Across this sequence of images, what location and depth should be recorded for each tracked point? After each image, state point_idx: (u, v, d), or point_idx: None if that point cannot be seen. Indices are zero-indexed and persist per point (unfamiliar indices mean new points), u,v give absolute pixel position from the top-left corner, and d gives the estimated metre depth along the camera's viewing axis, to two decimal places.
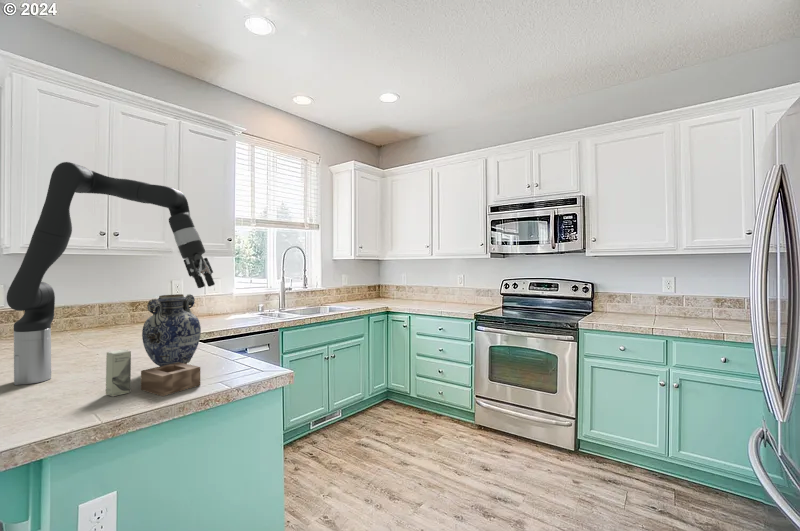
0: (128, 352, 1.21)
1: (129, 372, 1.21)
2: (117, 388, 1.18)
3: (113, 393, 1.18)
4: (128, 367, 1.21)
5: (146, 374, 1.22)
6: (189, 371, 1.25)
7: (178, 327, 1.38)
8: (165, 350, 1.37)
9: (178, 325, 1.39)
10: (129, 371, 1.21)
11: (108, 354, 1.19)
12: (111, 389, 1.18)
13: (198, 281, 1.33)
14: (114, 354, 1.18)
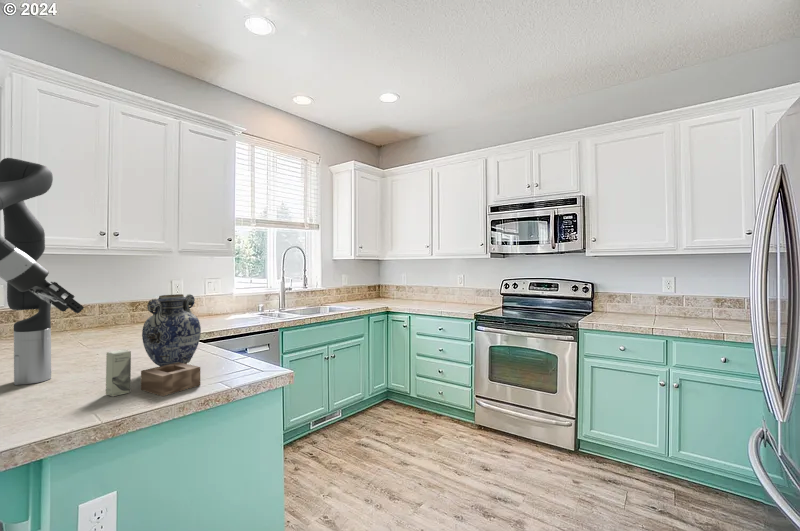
0: (128, 352, 1.21)
1: (129, 372, 1.21)
2: (117, 388, 1.18)
3: (113, 393, 1.18)
4: (128, 367, 1.21)
5: (146, 374, 1.22)
6: (189, 371, 1.25)
7: (178, 327, 1.38)
8: (165, 350, 1.37)
9: (178, 325, 1.39)
10: (129, 371, 1.21)
11: (108, 354, 1.19)
12: (111, 389, 1.18)
13: None
14: (114, 354, 1.18)
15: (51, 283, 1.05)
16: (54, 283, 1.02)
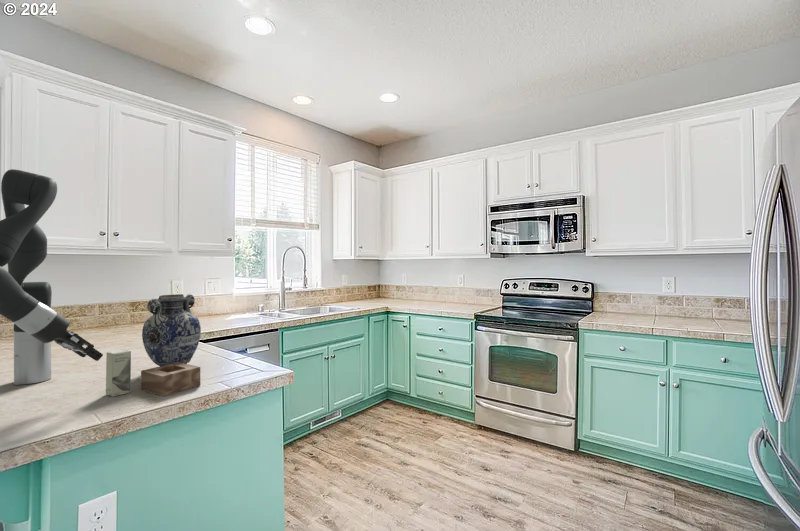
0: (128, 352, 1.21)
1: (129, 372, 1.21)
2: (117, 388, 1.18)
3: (113, 393, 1.18)
4: (128, 367, 1.21)
5: (146, 374, 1.22)
6: (189, 371, 1.25)
7: (178, 327, 1.38)
8: (165, 350, 1.37)
9: (178, 325, 1.39)
10: (129, 371, 1.21)
11: (108, 354, 1.19)
12: (111, 389, 1.18)
13: None
14: (114, 354, 1.18)
15: (72, 333, 1.09)
16: (75, 335, 1.06)
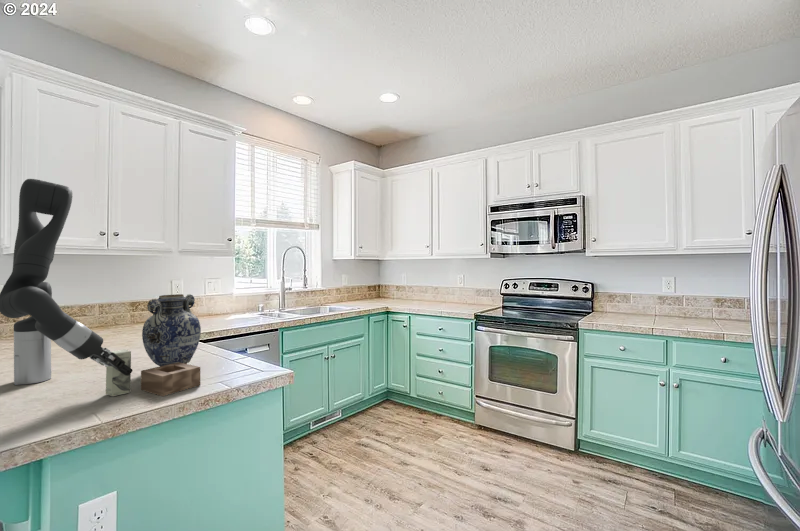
0: (128, 352, 1.21)
1: None
2: (117, 387, 1.18)
3: (113, 393, 1.18)
4: None
5: (146, 374, 1.22)
6: (189, 371, 1.25)
7: (178, 327, 1.38)
8: (165, 350, 1.37)
9: (178, 325, 1.39)
10: None
11: None
12: (111, 389, 1.18)
13: None
14: None
15: (106, 350, 1.16)
16: (113, 354, 1.13)
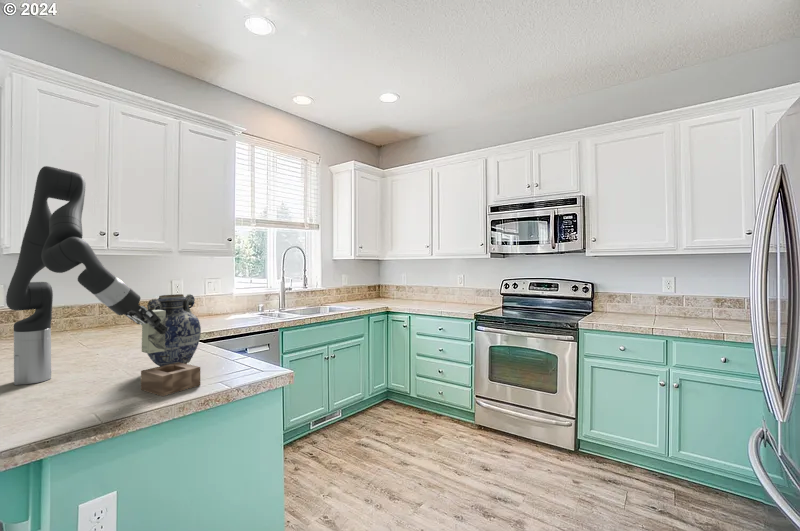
0: (163, 311, 1.24)
1: None
2: (152, 345, 1.21)
3: (149, 350, 1.20)
4: None
5: (146, 374, 1.22)
6: (189, 371, 1.25)
7: (178, 327, 1.38)
8: (165, 350, 1.37)
9: (178, 325, 1.39)
10: None
11: None
12: (147, 346, 1.20)
13: None
14: None
15: (143, 307, 1.19)
16: (150, 310, 1.16)
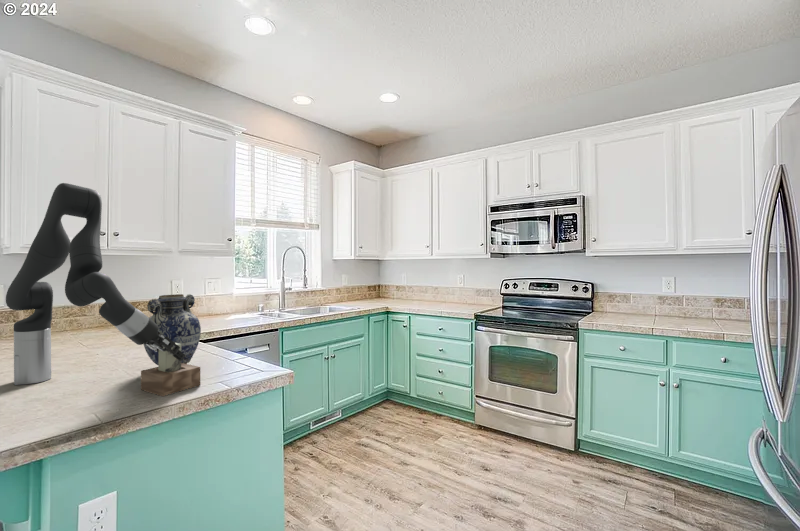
0: (179, 345, 1.27)
1: (180, 364, 1.27)
2: None
3: None
4: None
5: (146, 374, 1.22)
6: (189, 371, 1.25)
7: (178, 327, 1.38)
8: None
9: (178, 325, 1.39)
10: (180, 363, 1.27)
11: None
12: None
13: None
14: None
15: (160, 336, 1.22)
16: (166, 338, 1.18)
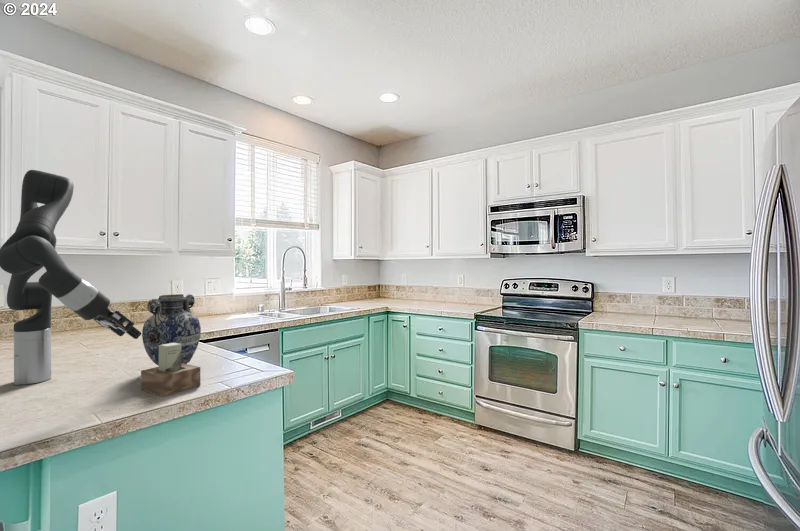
0: (179, 345, 1.27)
1: (180, 364, 1.27)
2: None
3: None
4: (179, 359, 1.27)
5: (146, 374, 1.22)
6: (189, 371, 1.25)
7: (178, 327, 1.38)
8: None
9: (178, 325, 1.39)
10: (180, 363, 1.27)
11: (161, 347, 1.24)
12: None
13: None
14: (167, 347, 1.23)
15: (112, 311, 1.10)
16: (116, 312, 1.07)
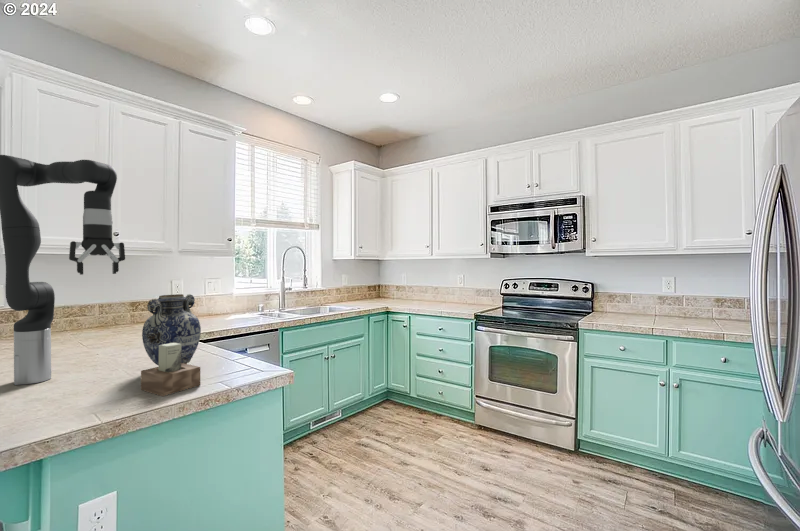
0: (179, 345, 1.27)
1: (180, 364, 1.27)
2: None
3: None
4: (179, 359, 1.27)
5: (146, 374, 1.22)
6: (189, 371, 1.25)
7: (178, 327, 1.38)
8: None
9: (178, 325, 1.39)
10: (180, 363, 1.27)
11: (161, 347, 1.24)
12: None
13: (77, 267, 1.24)
14: (167, 347, 1.23)
15: None
16: None
